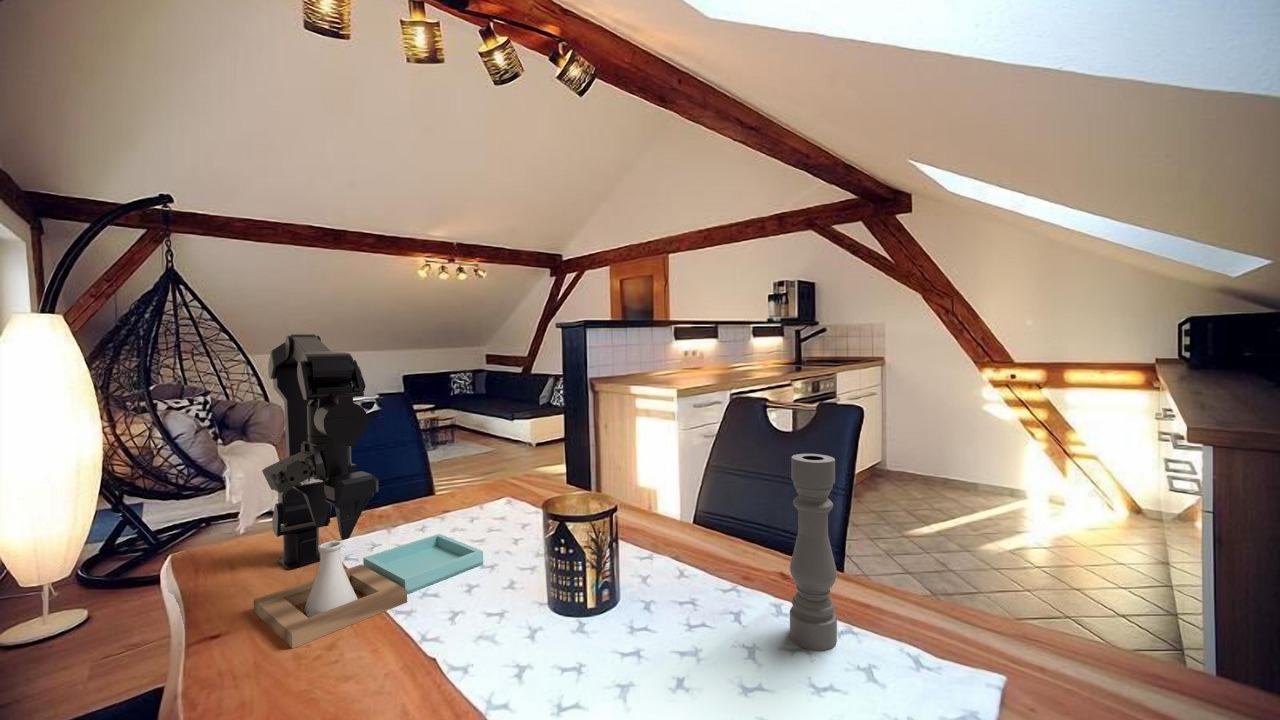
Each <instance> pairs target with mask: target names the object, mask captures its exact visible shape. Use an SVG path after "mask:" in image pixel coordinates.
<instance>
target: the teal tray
mask: <svg viewBox="0 0 1280 720" xmlns="http://www.w3.org/2000/svg"><path fill="white" fill-rule="evenodd" d="M362 559H363V560H362V561H363V564H362V565H363V566H365V567H367V568H369V569H371V570H372V571H374V572H376V573H378V574H380V575H381V576H383V577H385V578H387V579H389V580H390V581H392V582H394V583H396V584H398V585H399V586H401V587H403V588H405V589H407V595H408V594H412V593H414V592H417V591H420V590H422V589H424V588H426V587H427V588H428V587H429V586H432V585H434V584H437V583H440V582H443V581H444V580H447V579H450V578H452V577H455V576H457V575H460V574H462V573H465V572H467V571H470V570H472V569H475V568H478V567H480V566H482V565H484V551H483V550H482V549H480V548H476V547H474V546H471V545H468V544H466V543H465V542H461V541H459V540H456V539H454V538H452V537H448V536H447V535H443V534H441V533H438V534H434V535H430V536H428V537H425V538H422V539H421V538H420V539H418V540H415V541H412V542H409V543H405V544H402V545H399V546H397V547H393V548H390V549H386V550H384V551H380V552H377V553H374V554H371V555H368V556H365V557H363V558H362Z"/></svg>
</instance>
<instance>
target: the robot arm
mask: <svg viewBox="0 0 1280 720" xmlns="http://www.w3.org/2000/svg"><path fill="white" fill-rule="evenodd" d="M269 355H270V356H269V359H268V368H267V369H268V378H269V379H270V380H272V386H273V390H274V391H275V392H276V394H278V395H279V397H280V398H281V400H282V401H283V404H284V405H283V406H284V407H283V408H284V427H285V431H284V432H285V449H286V452H285V453H286V457H285V458H284V459H281V460H279V461H277V462H275V463H273V464H271V465H268V466H267V467H265V468H263V469H262V470H261V471H262V474H263V476H264V478H265V480H266V482H267V484H268V486H269V488H270V490H271V491H276V492H277V503H275V504H274V509H273V513H272V517H271V518H272V519H271V521H272V531H273V533H274V535H275V536H276V537H277V538H279V537H281V536H282V538H283V539H282V541H283V556H282V557H279V558H276V562H277V563H279V565H281V566H282V567H284V568H286V569H287V570H293V569H296V568H299V567H303V566H307V565H309V564H313V563H315V562H320V550H319V549H318V546H319V545H320V528H323V527H328V526H330V524H331V513H332V507H333V508H334V510H335V516H336V522H337V527H338V531H339V536H340V540H342V541H345V540H348V539H349V538H351V535H352V534H353V531H354V529H355V527H356V525H357V524H358V521H359V519H360V517H361V514H362V513H363V511H364V509H365V508H366V506H367V504H368V502H369V500H370V498H374V494H376V493H378V492H379V478H377V477H376V476H375V475H374V474H372V473H369V472H365V471H362V470H361V471H357V470H358V469H357V468H358V467H357V464H356V463H352V447H353V446H356V445H357V440H359V439H360V438H361V437H362V436H363V435H364V434H365V432H366V431H367V429H368V427H369V422H370V421H369V420H370V419H369V416H368V413H367V411H366V409H364V407H362V406H361V405H359V404H357V403H355V402H354V398H358V397H359V398H360V397H361V398H362V397H364V396H365V389H366V382H365V379H364V376H363V373H362V370H361V367H360V366H359V365H358V361H357V360H355V359H354V358H353V356H352V354H351V353H349V352H344V351H333V350H331V349H330V348H328V346H326V345H325V344H324V343H323V342H322V339H321V337H320V336H319V335H316V334H314V333H313V334H311V333H309V334H307V333H301V334H299V333H292V334H290V335H287V336H285V340H284V342H283V343H281V344H280V345H278V346H276V347H275V348H273V349H272V350H271V351H270V354H269Z"/></svg>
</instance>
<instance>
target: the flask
mask: <svg viewBox="0 0 1280 720" xmlns="http://www.w3.org/2000/svg"><path fill="white" fill-rule="evenodd" d="M342 548H343V542H342V541H341V540H339V541H338V540H331V541H327V542H323V543H322V544H319V546H318V549H319V551H320V561H319V564H318V570H317V573H316V576H315V579H314V580H315V581H314V584H313V587H312V590H311V592H310V595H309V597H308V600H307V602H305V606H304V608H303V610H304V612H305V614H306V616H307V617H308V618H309V617H312V616H315V615H317V614H320V613H323V612H325V611H328V610H331V609H333V608H336V607H339V606H341V605H344V604H347V603H349V602H352V601H355V600H357V599H359V598H358V596H357V594H356V593H355V591H354V590H355V589H354V588H353V587H352V586H351V584H350V582H349V579H348V577H347V575H346V572H345V568H344V564H343V561H342V556H341V555H342V554H341V549H342Z"/></svg>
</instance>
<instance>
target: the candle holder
mask: <svg viewBox="0 0 1280 720" xmlns="http://www.w3.org/2000/svg"><path fill="white" fill-rule="evenodd" d="M790 461H791V467H790V471H791V473H790V474H791V475H790V476H791V479H790V480H792V482H793V483H792V485H793V486H794V488H795V491H796V493H797V494H798V495H797V496H796V497H795V498H794V499H793V500H792V503H793V506H794V508H796V510H797V511H798V515H797V517H798V518H797V520H798V521H797V524H798V525H797V526H798V527H797V528H798V529H797V535H796V539H795V542H794V548H793V553H792V557H791V560H790V564H789V572H790V575H791V578H792V579H793V582H794V583H795V587H796V590H797V591H796V592H795V594H794V595H793V596H792V598H791V604H792V606H791V608H790V610H789V636H790V639H791V641H793V642H794V643H795V644H796V645H798V646H800V647H802V648H804V649H807V650H811V651H819V652H820V651H827V650H832V649H833V648H835V647H836V645H837V643H838V616H837V615H836V613H835V609H836V606H835V603H834V601H833V600H832V598H831V596H829V595H830V593H831V589H832V588H833V586H834V584H835V583H836V580H837V576H838V574H837V572H838V571H837V566H836V562H835V557H834V554H833V550H832V545H831V541H830V537H829V520H828V519H829V513H830V511H832V510H833V509H834V503H833V502H832V500H831V499H830V498H828V497H829V496H830V494H831V491H832V490H833V489H834V486H833V485H834V484H835V483H836V459H835V458H834V457H833V456H829V455H825V454H819V453H799V454H798V453H796V454H794V455H792V456H791V459H790Z"/></svg>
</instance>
